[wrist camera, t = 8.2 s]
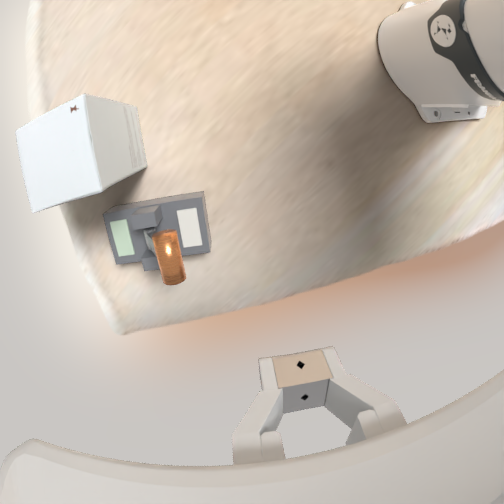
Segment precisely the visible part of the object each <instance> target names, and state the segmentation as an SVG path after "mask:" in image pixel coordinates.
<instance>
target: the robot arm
mask: <svg viewBox="0 0 504 504" xmlns="http://www.w3.org/2000/svg"><path fill="white" fill-rule="evenodd" d="M378 45H379V50H380V54H381V58H382V60H383V63H384V65H385V67H386V70H387V71H388V73H389V75H390V77H391V78H392V80H393V81H394V82H395V84H396V85H397V86H398V88H399V89H400V90H401V91H402V92H403V93H404V94H405V95H406V96H407V97H408V98H409V99H410V100H411V101H412V102H413V103H414V104H415V106H416V108H417V110H418V112H419V114H420V116H421V117H422V119H423V120H424V121H425V122H427V123H433V122H442V121H453V120H466V119H482V118H484V117H485V115H486V111H487V106H491V107H499V106H500V104H501V101H504V0H429V1H426V2H423V3H419V4H415V3H413V2H406V3H404V4H403V5H402V6H401V8H400V10H399V11H398V12H397V13H394V14H392V15H390V16H388V17H387V18H385V19H384V21H383V22H382V23H381V26H380V28H379V33H378ZM434 112H435V115H434ZM259 369H260V379H261V387H262V391H259V393H258V394H257V396H256V398H255V399H254V401H253V403H252V404H251V406H250V407H249V409H248V411H247V412H246V414H245V415H244V417H243V419H242V420H241V422H240V423H239V425H238V426H237V428H236V429H235V431H234V433H233V434H232V445H233V462H234V465H225V466H172V465H157V464H146V463H137V462H130V461H122V460H116V459H110V458H104V457H100V456H95V455H90V454H86V453H82V452H78V451H74V450H70V449H66V448H62V447H59V446H56V445H53V444H50V443H47V442H44V441H41V440H38V439H30V440H28V441H26V442H24V443H23V444H21V445H20V446H18V447H17V448H16V449H14V450H13V451H12V452H10V453H9V454H8V455H7V457H6V458H5V460H4V462H3V464H2V466H1V469H0V504H504V370H503V371H501V372H500V373H499V374H497V375H496V376H494V377H493V378H491V379H490V380H488V381H487V382H485V383H484V384H482V385H481V386H479V387H478V388H476V389H474V390H473V391H471V392H469V393H468V394H466V395H464V396H463V397H461V398H459V399H458V400H456V401H454V402H452V403H450V404H448V405H446V406H445V407H443V408H441V409H439V410H437V411H435V412H433V413H431V414H429V415H426V416H424V417H422V418H420V419H418V420H416V421H413V422H411V423H409V424H407V423H406V421H405V419H404V417H403V415H402V413H401V411H400V409H399V407H398V405H397V403H396V401H395V400H394V399H392V398H390V397H389V396H387V395H385V394H383V393H382V392H380V391H378V390H376V389H375V388H373V387H371V386H369V385H368V384H366V383H364V382H363V381H361V380H359V379H358V378H356V377H354V376H352V375H351V374H349V375H347V374H346V372H345V370H344V368H343V366H342V363H341V361H340V359H339V357H338V355H337V352H336V351H335V348H334V347H333V346H331V347H326V348H321V349H315V350H311V351H305V352H300V353H296V354H289V355H282V356H274V357H267V358H259ZM320 406H325V407H326V408H327V409H328V410H329V411H330V412H331V413H333V414H334V415H335V416H336V417H337V418H339V419H340V420H341V421H343V422H344V423H345V424H346V425H348V426H349V427H350V428H351V429H352V431H351V433H350V435H349V437H348V439H347V441H346V446H343V447H339V448H335V449H332V450H328V451H323V452H319V453H315V454H310V455H305V456H300V457H295V458H289V459H285V454H284V449H283V444H282V439H281V434H280V433H279V432H277V431H276V429H277V427H278V425H279V423H280V421H281V418H282V416H283V413H289V412H294V411H299V410H304V409H309V408H315V407H320Z"/></svg>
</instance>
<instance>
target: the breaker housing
mask: <svg viewBox="0 0 504 504" xmlns="http://www.w3.org/2000/svg"><path fill="white" fill-rule="evenodd" d="M103 217H104V221H105V225H106V229H107V233H108V237H109V240H110V244H111V247H112V251H113V254H114V258H115V261H116V264H125V263H132V262H140V261H142V264H143V268H144V271H150V270H158V269H160V268H159V264H158V260H157V257H156V256H155V254H154V253H153V252H152V251H151V250H148V247H147V243H146V239H145V235H144V229H146V228H149V227H155V230H156V231H157V232H159V231H162V230H168V229H174V230H176V231H177V236H178V241H179V246H180V250H181V255H182V256H186V255H193V254H201V253H209V252H210V251H211V236H210V230H209V224H208V217H207V210H206V204H205V197H204V191H201V192H194V193H188V194H181V195H175V196H169V197H163V198H157V199H151V200H146V201H140V202H135V203H130V204H124V205H119V206H114V207H112V208H110V209H109V210H108V211H106V212H105V213H104V214H103Z"/></svg>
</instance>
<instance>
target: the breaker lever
mask: <svg viewBox="0 0 504 504" xmlns="http://www.w3.org/2000/svg"><path fill="white" fill-rule="evenodd" d="M144 235H145V239H146V243H147V247H148V250H151V251H152V252H153V253H154V254H155V256H156V257H157V260H158V264H159V268H160V272H161V275H162V279H163V283H164V284H166V285H176V284H179V283H181V282H183V281H184V280H185V279H186V273H185V269H184V264H183V260H182V255H181V250H180V246H179V241H178V236H177V231H176V230H174V229H168V230H162V231H159V232H157V231H156V230H155V227H149V228H146V229H144Z"/></svg>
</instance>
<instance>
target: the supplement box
mask: <svg viewBox="0 0 504 504" xmlns="http://www.w3.org/2000/svg"><path fill="white" fill-rule="evenodd" d="M16 139H17V145H18V152H19V158H20V162H21V168H22V173H23V178H24V182H25V187H26V191H27V195H28V198H29V203H30V206H31V210H32V213H36V212H38V211H41V210H44V209H47V208H50V207H53V206H57V205H60V204H63V203H67V202H70V201H73V200H77V199H80V198H84V197H87V196H91V195H94V194H98V193H102V192H103V191H104V190H106V189H107V188H109V187H110V186H112V185H114V184H116V183H118V182H119V181H121V180H123V179H125V178H127V177H129V176H131V175H133V174H135V173H137V172H139V171H140V170H142V169H144V168H146V167H147V160H146V155H145V149H144V144H143V139H142V133H141V128H140V122H139V116H138V110H137V107H136V106H132V105H129V104H125V103H121V102H118V101H114V100H110V99H106V98H102V97H98V96H93V95H89V94H82V95H80V96H78V97H76V98H74V99H72V100H70V101H68V102H66V103H64V104H62V105H60V106H58V107H56V108H54V109H52V110H50V111H49V112H47V113H45V114H43V115H41V116H39V117H38V118H36V119H34V120H32V121H31V122H29V123H27V124H26V125H24V126H22V127H20V128H19V129H17V130H16Z"/></svg>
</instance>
